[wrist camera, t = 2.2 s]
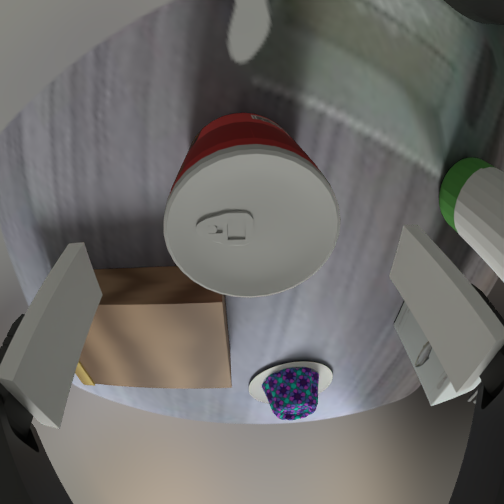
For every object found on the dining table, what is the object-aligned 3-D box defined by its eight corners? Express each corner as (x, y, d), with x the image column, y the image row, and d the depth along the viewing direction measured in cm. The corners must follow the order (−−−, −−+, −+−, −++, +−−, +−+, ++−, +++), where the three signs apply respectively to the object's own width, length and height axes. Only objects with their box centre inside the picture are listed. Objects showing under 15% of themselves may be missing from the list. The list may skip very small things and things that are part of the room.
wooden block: (222, 263, 27) (222, 304, 23) (230, 352, 35) (231, 389, 30) (52, 270, 26) (31, 305, 22) (92, 350, 34) (82, 384, 29)
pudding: (245, 362, 37) (248, 397, 32) (338, 351, 37) (348, 383, 33) (250, 403, 43) (252, 432, 39) (325, 394, 44) (332, 422, 40)
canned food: (176, 127, 20) (134, 179, 11) (283, 100, 20) (332, 129, 11) (205, 215, 25) (195, 313, 16) (301, 192, 24) (346, 279, 15)
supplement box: (409, 279, 31) (463, 367, 20) (455, 275, 31) (508, 350, 21) (390, 325, 35) (429, 408, 24) (434, 318, 35) (475, 390, 25)
